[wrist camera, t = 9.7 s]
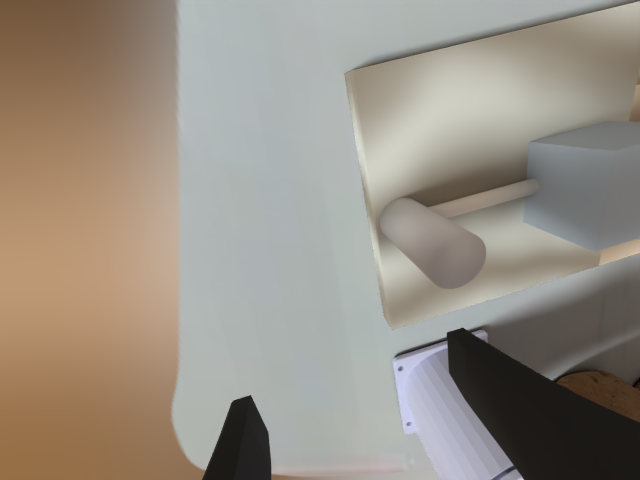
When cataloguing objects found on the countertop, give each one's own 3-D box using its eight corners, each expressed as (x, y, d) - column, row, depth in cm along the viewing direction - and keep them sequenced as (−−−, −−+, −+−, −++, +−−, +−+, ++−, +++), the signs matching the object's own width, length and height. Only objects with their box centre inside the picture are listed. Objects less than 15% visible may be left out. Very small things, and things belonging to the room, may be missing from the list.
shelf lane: (690, 222, 24) (778, 244, 20) (384, 316, 22) (412, 363, 18) (775, -30, 17) (935, -75, 13) (344, 73, 15) (375, 59, 11)
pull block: (592, 201, 19) (707, 232, 14) (384, 261, 18) (431, 317, 13) (607, 121, 17) (747, 124, 12) (374, 183, 16) (424, 214, 11)
